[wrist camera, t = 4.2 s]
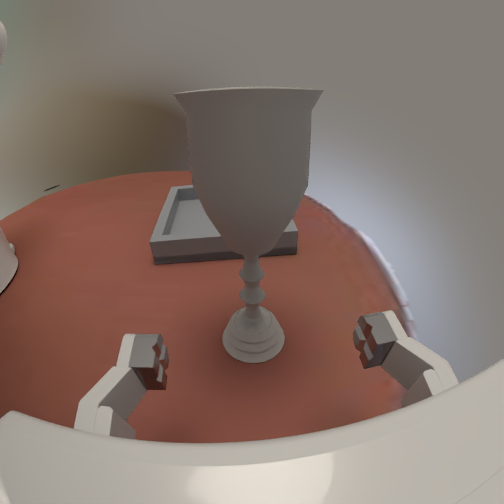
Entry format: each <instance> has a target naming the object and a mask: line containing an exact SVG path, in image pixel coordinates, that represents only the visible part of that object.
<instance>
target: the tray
mask: <svg viewBox="0 0 504 504" xmlns="http://www.w3.org/2000/svg"><path fill="white" fill-rule="evenodd" d="M297 239H298V230H297V228H296V225H295V223H294V221H293V219H292V220H291V221H290V223H289V224H288V226H287V227H286V229H285V231H284V232H283V234H282V235H281V237H280V238H279V240H278V241H277V243H276V244H275V246H274V247H273V249H272V250H271V251H269V252H267V253H265V254H262V255H259V257H262V256H275V255H288V254H296V251H297ZM150 246H151V250H152V254H153V257H154V261H155V264H167V263H181V262H195V261H209V260H222V259H235V258H244V256H243V255H241V254H238V253H236V252H234V251H232V250H231V249H230V248H229V247H228V245H227V244H226V242H225V241H224V239H223V238H222V237H221V235H220V234H219V232H218V231H217V229H216V228H215V226H214V225H213V223H212V222H211V220H210V219H209V217H208V216H207V214H206V212H205V210H204V208H203V206H202V204H201V202H200V200H199V198H198V196H197V194H196V192H195V190H194V188H193V185H187V186H177V187H171V190H170V192H169V194H168V197H167V199H166V202H165V204H164V206H163V209H162V211H161V214H160V216H159V219H158V221H157V224H156V226H155V229H154V232H153V234H152V237H151V239H150Z"/></svg>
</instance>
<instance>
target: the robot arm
mask: <svg viewBox="0 0 504 504" xmlns="http://www.w3.org/2000/svg"><path fill="white" fill-rule="evenodd" d="M6 46H7V33H6V30H5V27H4V26H3V24H2V23H1V22H0V64H1V62H2V60H3V57H4V55H5V51H6ZM14 253H15V247H14V246H13V244H12V243H10V244H9V243H8V241H7V239H6V237H5V235H4V233H3V231H2V229H1V227H0V293H1V292H2V291H3V290H4V288H5V287H6V286H7V285H8V283H9V282H10V281H11V279H12V278H13V276H14V274H15V272H16V270H17V267H18V259H17V257H16V256H15V254H14ZM358 324H359V325H358V326H357V327H356V328H355V330H354V333H353V341H354V345H355V347H356V349H357V350H358V351H360V352H361V353H360V356H359V358H360V360H361V362H362V365H363V368H364V369H367V368H371V367H376V366H380V365H381V367H382V368H383V369H384V370H385V371H386V372H388V373H389V374H390V375H391V376H392V377H393V378H394V379H395V380H397V381H398V382H399V383H400V384H401V385H402V386H403V387H404V388H406V389H407V390H408V391H407V392H406V393H405V394H404V396H403V397H402V398H401V403H402V405H403V408H401V409H398V410H395V411H392V412H389V413H386V414H383V415H380V416H377V417H374V418H370V419H367V420H363V421H360V422H356V423H353V424H349V425H345V426H341V427H337V428H332V429H328V430H323V431H318V432H313V433H308V434H302V435H296V436H290V437H283V438H275V439H267V440H257V441H246V442H230V443H172V442H156V441H145V440H136V439H135V432H136V431H135V430H134V428H132V427H131V426H130V425H129V424H128V423H127V422H126V420H127V418H128V417H129V416H130V414H131V413H132V411H133V410H134V409H135V407H136V406H137V404H138V403H139V402H140V400H141V399H142V397H143V396H144V395H145V393H146V392H147V390H166V384H167V375H166V373H165V370H166V369H167V368H168V363H169V359H168V351H167V348H166V346H165V345H163V344H162V343H163V338H162V336H161V334H125V335H124V337H123V340H122V344H121V348H120V352H119V356H118V360H117V365H116V367H112V368H111V369H110V370H109V371H108V372H107V373H106V374H105V375H104V376H103V377H102V378H101V379H100V380H99V382H98V383H97V384H96V385H95V386H94V387H93V388H92V389H91V390H90V391H89V392H88V393H87V394H86V395H85V396H84V397H83V398H82V399H81V400H80V402H79V406H78V410H77V415H76V420H75V425H74V429H73V428H69V427H65V426H61V425H58V424H54V423H51V422H47V421H44V420H41V419H37V418H34V417H31V416H29V415H26V414H23V413H20V412H17V411H9V412H8V413H6V414H5V415H4V416H3V417H2V418H1V419H0V504H504V359H502V360H500V361H498V362H497V363H495V364H493V365H492V366H490V367H488V368H487V369H485V370H483V371H481V372H480V373H478V374H476V375H474V376H472V377H471V378H469V379H467V380H465V381H463V382H461V383H459V382H458V380H457V378H456V377H455V375H454V373H453V371H452V369H451V367H450V365H449V363H448V362H447V361H446V360H445V359H443V358H442V357H440V356H439V355H437V354H436V353H434V352H432V351H431V350H429V349H428V348H426V347H425V346H423V345H422V344H420V343H419V342H417V341H416V340H414V339H413V338H411V337H409V338H408V337H407V335H406V333H405V331H404V329H403V328H402V326H401V324H400V322H399V321H398V319H397V317H396V315H395V314H394V312H393V311H391V310H390V311H385V312H378V313H373V314H368V315H363V316H360V317H359V319H358Z"/></svg>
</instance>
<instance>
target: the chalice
mask: <svg viewBox="0 0 504 504" xmlns="http://www.w3.org/2000/svg"><path fill="white" fill-rule="evenodd" d="M322 92H323V90H318V89H307V88H291V87H234V88H217V89H205V90H196V91H188V92H180V93H175V94H174V96H175V97H176V99H177V100H178V102H179V104H180V105H181V107H182V108H183V110H184V112H185V113H186V122H187V134H188V145H189V155H190V164H191V174H192V183H193V188H194V190H195V192H196V194H197V196H198V198H199V200H200V202H201V204H202V206H203V208H204V210H205V212H206V214H207V216H208V217H209V219H210V220H211V222H212V223H213V225H214V226H215V228H216V229H217V231H218V232H219V234H220V235H221V237H222V238H223V239H224V241H225V242H226V244H227V245H228V247H229V248H230V249H231V250H232V251H234V252H236V253H238V254H241V255H243V256H244V264H243V268H242V269H241V270H240V272H239V275H240V277H241V278H242V279H243V280H244V282H245V287H244V289H242V290H241V291H240V294H239V295H240V298H241V300H243V301H244V302H245V303H246V307H244V308H242V309H240V310H238V311H237V312H235V313H234V314H233V316H232V317H231V318H230V321H229V323H228V324H227V327H226V329H225V330H224V333H223V337H222V339H223V345H224V347H225V349H226V351H227V352H228V353H229V354H230V355H231V356H232V357H234V358H235V359H238V360H240V361H242V362H248V363H259V362H265V361H267V360H269V359H271V358H273V357H275V356H276V355H277V354H278V353H279V352H280V351H281V349H282V347H283V345H284V340H285V336H284V332H283V329H282V328H281V327H280V325H279V323H278V321H277V320H276V317H275V316H274V315H273V313H271V312H270V311H268V310H267V309H265V308H263V307H261V306H259V305H260V302H261V301H263V300H264V298H265V292H264V291H263V290H262V289H261V288H260V287H259V283H260V280H261V279H262V278H263V277H264V271H263V270H262V269H261V267H260V263H259V255H262V254H265V253H267V252H269V251H271V250H272V249H273V247H274V246H275V244H276V243H277V241H278V240H279V238H280V237H281V235H282V234H283V232H284V231H285V229H286V227H287V226H288V224H289V223H290V221H291V220H292V218H293V217H294V215H295V213H296V211H297V208H298V206H299V204H300V202H301V199H302V197H303V195H304V193H305V190H306V188H307V186H308V176H309V158H310V138H311V137H310V136H311V111H312V109H313V108H314V106H315V104H316V103H317V101H318V99H319V97H320V96H321V94H322Z"/></svg>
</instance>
